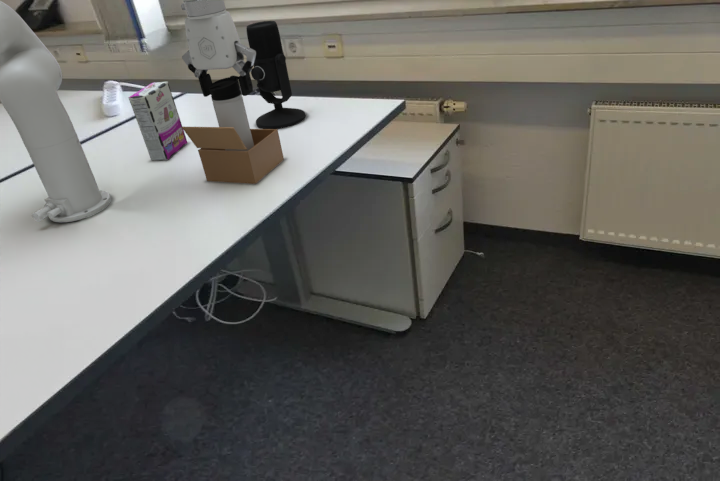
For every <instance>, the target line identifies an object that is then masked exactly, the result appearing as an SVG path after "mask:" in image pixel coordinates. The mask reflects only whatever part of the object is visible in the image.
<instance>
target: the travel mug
mask: <svg viewBox="0 0 720 481" xmlns="http://www.w3.org/2000/svg"><path fill="white" fill-rule="evenodd" d="M238 77H239V76H238V75H230V76H228V77H224V78H220V79H218V80H215V81H213V82H212V84H211V85H210V86H209V90H210V94H211V95H210V97H211V101H212V105H213V109H214V114H215V118H216V121H217V124H218V127H234V129H235V130H236V132H237V134H238V135H239V137H240V138H241V140H242V141H243V143H244V145H245V146H246V148H247V150H242V149H225V150H226V151H249V150H250V149H251V148H253V147H254V143H253V139H252V134H251V130H250V129H251V128H250V127H251V126H250V123H249V118H248V115H247V110H246V105H245V102H244V98H243V97H244V96H243V95H242V92H241V88H240V84H239V80H238Z"/></svg>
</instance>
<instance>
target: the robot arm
mask: <svg viewBox="0 0 720 481" xmlns="http://www.w3.org/2000/svg"><path fill="white" fill-rule="evenodd" d="M180 8H181V10H182V11H185V14H186V17H185V18H184V30H185V37H186V38H185V39H186V42H187V48H188V50H187V51H186V52H185V53H184V54H182V56H181V59H182V60H183V62H184V63H185V65H186V66H187V69H188V70H189V71H190V72H191V73H193V74H194V77H195V79H198V83H199V85H200V89H201V92H202V95H203V97H205V98H207V97H210V96H211V94H210V90H209V86H210V85H211V84H212V83H213V81H212V76H211V74H210V73H208V71H210V70H211V71H212V70H227V69H231V68H233V69H234V71H235V72H237V74H238V75H239V76H238V82H239V86H240V90H241V93H242V97H246V96H248V95H250V94H251V93H253V91H254V89H253V88H254V86H253V83H252V78H251V77H252V76H251V70H252V69H253V68H254V64H255V62H254V61H255V57H256V51H255V50H253V49H251V48H250V47H249V46H246V45H245V44H243V43H242V42H241V39H240V36H239V33H238V30H237V27H236V24H235V21H234V19H233V17H232V15H231V13H230V11H227V8H226V3H225V0H182V3H181V4H180ZM245 57H246V61H245ZM62 82H63V72H62V68H61V66H60V64H59V62H58V60H57V58H56V57H55V56H54V55H53V54H52V53H51V51H50V50H49V49H48V48H47V46H46V45H45V44H44V43H43V42H42V40H41V39H40V38H39V37H38V35H37V34H36V32H34V31H33V30H32V29H31V27H30V26H29V25H28V24H27V22H26V21H25V20H24V19H23V18H22V17H21V15H20V14H19V13H18V12H17V11H16V10H15V9H13V7H11V6H10V5H8V4H7V3H5V2H4V1H2V0H0V103H1V105H2V106H3V108H4V110H5V111H6V113H7V114H8V116H9V118H10V120H11V121H12V122H13V124H14V126H15V128H16V131H17V132H18V134H19V136H20V139H21V141H22V143H23V145H24V147H25V149H26V150H27V153H28V155H29V157H30V160H31V162H32V164H33V166H34V169H35V170H36V172H37V175H38V177H39V179H40V181H41V184H42V186H43V188H44V190H45V192H46V195H47V197H46V198H44V202H45V204H44V205H43V207H42V208H40V209H37V210H36V211H35V212H32V213H31V216H32V218H33V220H35V222H41V221H42V220H44V219H46V218H47V217H48V219H49V220H50V221H52V222H54V223H71V222H77V221H80V220H84V219H86V218H90V217H91V216H93V215H96V214H98V213H100V212H101V211H103V210H104V209H106V208H107V207H108V206H109V205H110V204H111V202H112V197H111V194H110V193H109V191H106V190H100V188H99V184H98V183H97V180H96V178H95V176H94V173H93V170H92V168H91V166H90V163H89V161H88V158H87V156H86V153H85V151H84V148H83V146H82V144H81V141H80V139H79V136H78V134H77V132H76V129H75V126H74V124H73V122H72V120H71V118H70V115H69V113H68V111H67V109H66V108H65V106H64V104H63V102H62V100H61V97H60V96H59V94H58V90H59V89H60V87H61V85H62Z"/></svg>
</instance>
